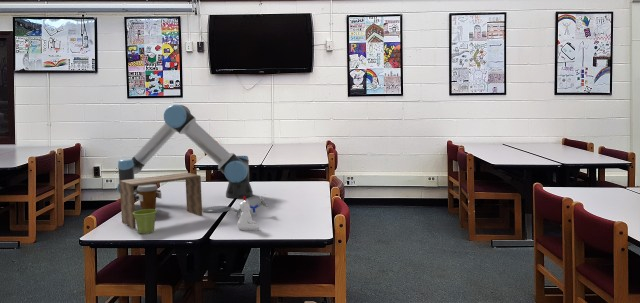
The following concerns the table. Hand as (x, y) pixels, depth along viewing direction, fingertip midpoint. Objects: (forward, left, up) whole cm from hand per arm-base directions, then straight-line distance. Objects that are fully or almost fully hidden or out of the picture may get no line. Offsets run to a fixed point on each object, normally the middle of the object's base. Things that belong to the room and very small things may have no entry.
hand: (151, 197), depth 220 cm
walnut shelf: (-6, +11, -8) cm, 15 cm away
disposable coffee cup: (+2, -4, -7) cm, 9 cm away
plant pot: (-2, +33, -9) cm, 34 cm away
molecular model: (-45, +17, -9) cm, 49 cm away
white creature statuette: (-43, +39, -9) cm, 59 cm away
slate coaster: (-30, -2, -8) cm, 32 cm away
